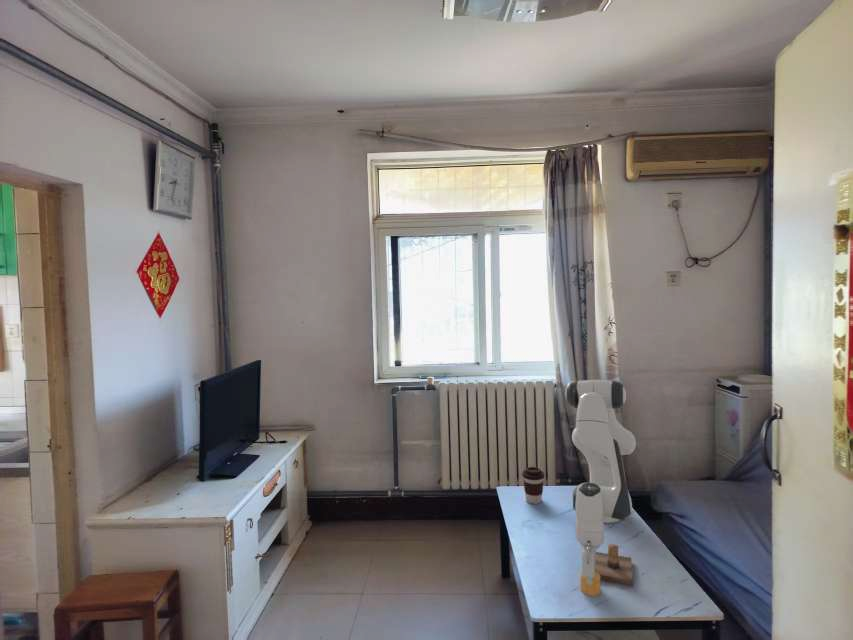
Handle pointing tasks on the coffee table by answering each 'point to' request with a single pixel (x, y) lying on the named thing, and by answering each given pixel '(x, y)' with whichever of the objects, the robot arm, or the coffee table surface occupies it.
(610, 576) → the wooden peg stand
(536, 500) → the coffee cup
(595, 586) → the domed octagonal prism
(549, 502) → the coffee table surface
